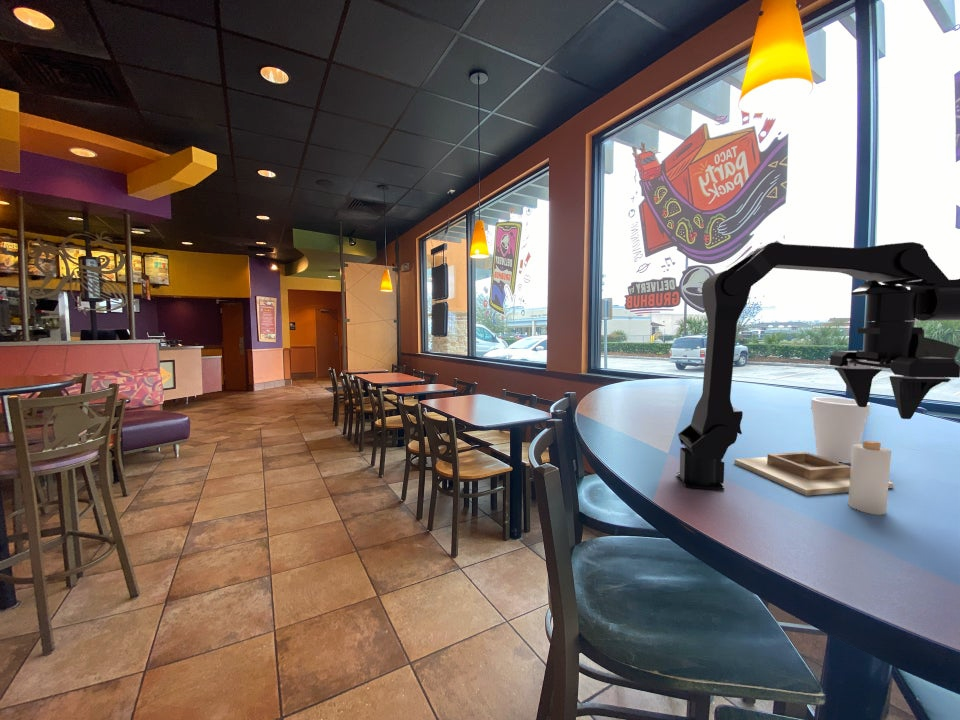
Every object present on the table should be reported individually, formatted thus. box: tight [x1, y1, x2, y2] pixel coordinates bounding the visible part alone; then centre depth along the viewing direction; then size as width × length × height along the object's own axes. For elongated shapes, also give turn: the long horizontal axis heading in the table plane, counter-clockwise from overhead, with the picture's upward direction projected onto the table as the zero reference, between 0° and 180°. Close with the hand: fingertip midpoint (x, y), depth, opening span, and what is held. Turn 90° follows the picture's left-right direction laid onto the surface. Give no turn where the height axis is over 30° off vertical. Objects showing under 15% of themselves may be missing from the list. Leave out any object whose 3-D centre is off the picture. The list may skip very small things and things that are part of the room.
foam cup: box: [810, 396, 871, 464], centre depth 85 cm, size 10×9×13 cm
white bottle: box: [847, 439, 892, 516], centre depth 62 cm, size 4×4×11 cm
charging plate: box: [734, 451, 895, 496], centre depth 76 cm, size 18×16×3 cm
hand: (882, 412), depth 66 cm, fingers open, 9 cm apart
